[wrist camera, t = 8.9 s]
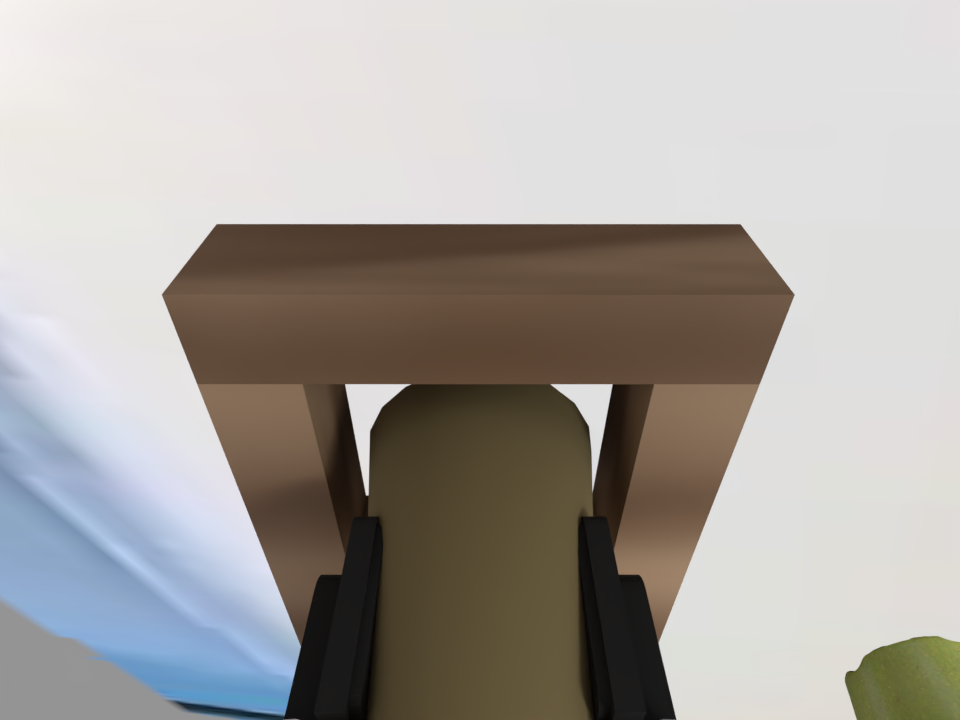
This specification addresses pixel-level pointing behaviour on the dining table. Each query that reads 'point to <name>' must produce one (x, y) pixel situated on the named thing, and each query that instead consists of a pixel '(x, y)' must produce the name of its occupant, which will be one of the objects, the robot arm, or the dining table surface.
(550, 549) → the cork
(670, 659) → the dining table surface
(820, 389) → the dining table surface
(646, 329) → the socket stand
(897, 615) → the dining table surface
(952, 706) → the plant pot
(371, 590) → the robot arm
